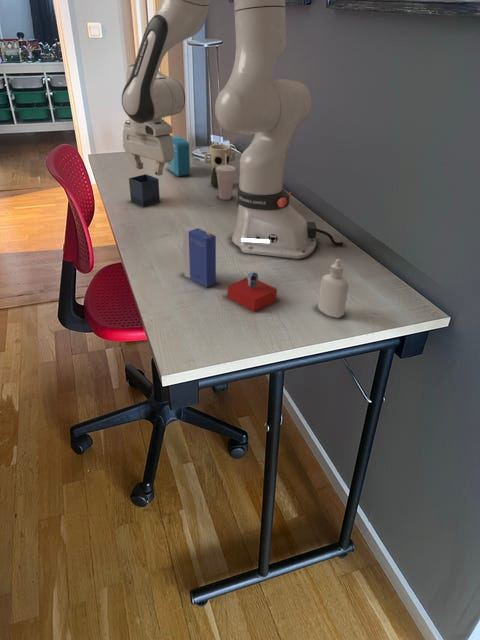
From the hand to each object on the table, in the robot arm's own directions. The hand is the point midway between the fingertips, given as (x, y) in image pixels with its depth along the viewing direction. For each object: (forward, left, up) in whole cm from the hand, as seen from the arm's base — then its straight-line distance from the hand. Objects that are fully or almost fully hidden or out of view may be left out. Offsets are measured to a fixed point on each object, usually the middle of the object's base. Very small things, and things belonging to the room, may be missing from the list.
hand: (149, 171), depth 154 cm
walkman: (-38, +41, -9) cm, 56 cm away
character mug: (-13, -24, -9) cm, 29 cm away
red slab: (-52, +44, -9) cm, 68 cm away
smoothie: (-20, -13, -9) cm, 26 cm away
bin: (0, -1, -5) cm, 6 cm away
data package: (+7, -31, -9) cm, 33 cm away
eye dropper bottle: (-69, +42, -9) cm, 81 cm away
